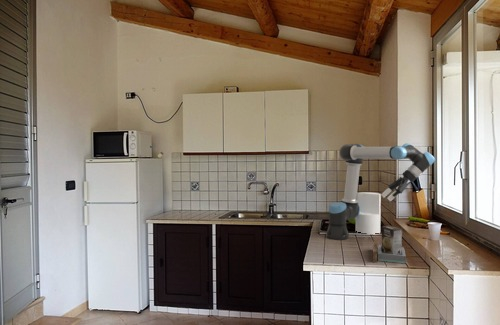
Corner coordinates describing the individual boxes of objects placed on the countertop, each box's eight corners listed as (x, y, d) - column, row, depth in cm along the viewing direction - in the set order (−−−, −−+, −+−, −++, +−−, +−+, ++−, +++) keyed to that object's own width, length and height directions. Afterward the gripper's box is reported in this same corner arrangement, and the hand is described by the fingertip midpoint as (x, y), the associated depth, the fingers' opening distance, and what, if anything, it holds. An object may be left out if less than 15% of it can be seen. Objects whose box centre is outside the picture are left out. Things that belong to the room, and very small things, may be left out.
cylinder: (362, 227, 270) (363, 191, 268) (384, 231, 257) (384, 193, 256) (351, 231, 258) (351, 193, 257) (373, 235, 245) (373, 196, 244)
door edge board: (372, 262, 190) (372, 251, 190) (373, 249, 212) (374, 240, 212) (376, 262, 189) (376, 251, 189) (377, 250, 211) (377, 240, 211)
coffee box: (381, 254, 201) (381, 226, 200) (390, 252, 203) (390, 225, 202) (392, 258, 192) (393, 229, 191) (402, 257, 194) (402, 228, 194)
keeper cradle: (377, 260, 192) (377, 253, 192) (378, 251, 208) (378, 245, 208) (405, 263, 187) (405, 256, 187) (403, 254, 203) (404, 247, 203)
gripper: (424, 180, 199) (396, 206, 201) (409, 176, 224) (384, 199, 226) (414, 171, 199) (386, 196, 202) (400, 167, 224) (375, 190, 226)
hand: (385, 198), depth 214 cm, fingers open, 13 cm apart
